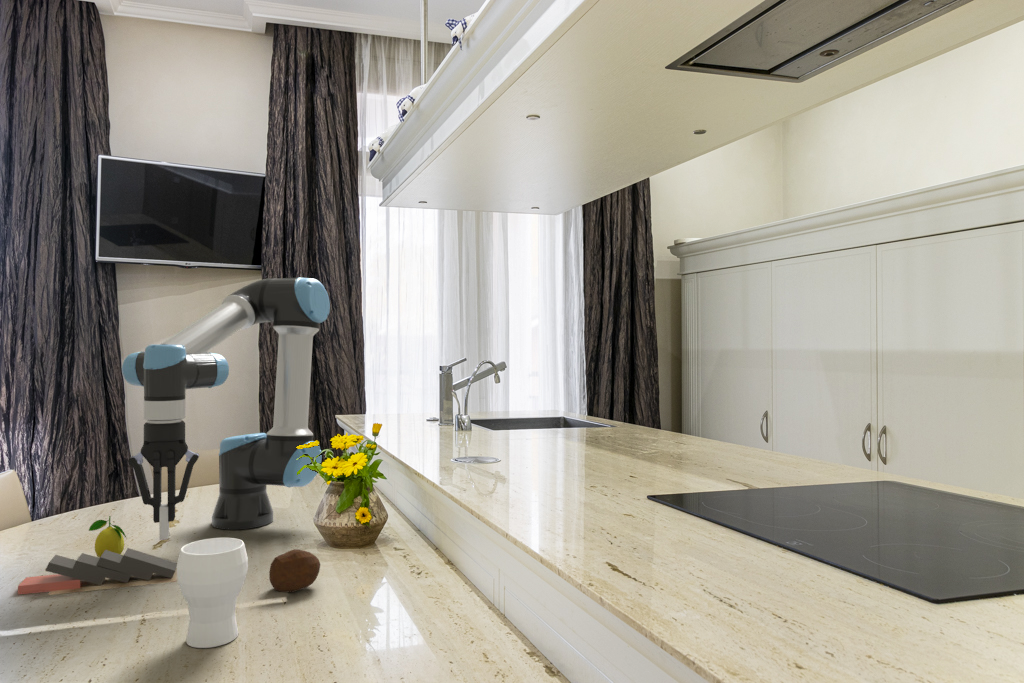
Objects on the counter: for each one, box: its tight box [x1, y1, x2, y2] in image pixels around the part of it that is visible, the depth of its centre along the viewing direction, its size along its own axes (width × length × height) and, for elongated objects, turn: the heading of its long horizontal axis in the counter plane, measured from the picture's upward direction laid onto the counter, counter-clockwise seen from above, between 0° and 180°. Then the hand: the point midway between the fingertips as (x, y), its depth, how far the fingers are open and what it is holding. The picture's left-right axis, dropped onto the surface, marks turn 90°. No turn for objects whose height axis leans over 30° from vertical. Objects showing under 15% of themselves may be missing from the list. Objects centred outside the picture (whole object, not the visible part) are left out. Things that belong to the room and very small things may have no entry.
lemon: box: [88, 515, 127, 558], centre depth 151 cm, size 7×6×10 cm
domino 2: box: [44, 554, 106, 585], centre depth 135 cm, size 2×5×10 cm
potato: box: [268, 548, 321, 594], centre depth 135 cm, size 7×10×8 cm
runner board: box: [47, 567, 178, 596], centre depth 138 cm, size 26×9×1 cm, turn 111°
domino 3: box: [73, 552, 131, 583], centre depth 137 cm, size 2×5×10 cm
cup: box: [176, 537, 249, 649], centre depth 113 cm, size 11×11×15 cm
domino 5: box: [120, 547, 177, 578], centre depth 139 cm, size 2×5×10 cm
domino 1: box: [17, 573, 85, 596], centre depth 134 cm, size 2×5×10 cm
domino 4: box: [97, 550, 153, 581], centre depth 138 cm, size 2×5×10 cm
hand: (164, 537), depth 140 cm, fingers closed
